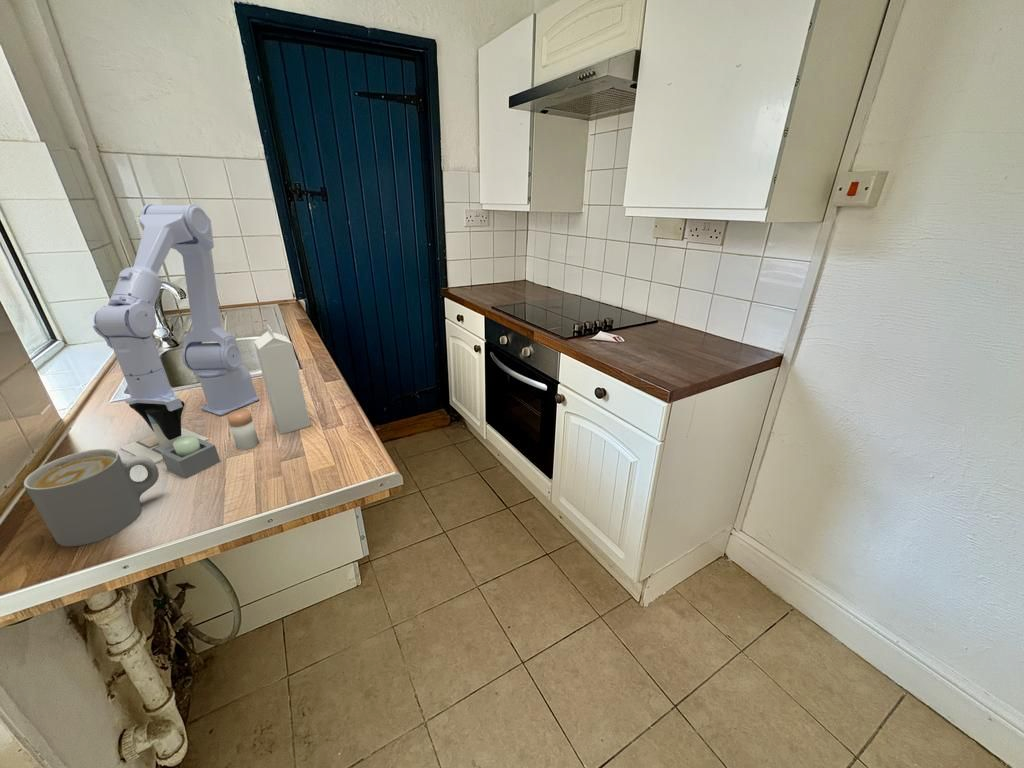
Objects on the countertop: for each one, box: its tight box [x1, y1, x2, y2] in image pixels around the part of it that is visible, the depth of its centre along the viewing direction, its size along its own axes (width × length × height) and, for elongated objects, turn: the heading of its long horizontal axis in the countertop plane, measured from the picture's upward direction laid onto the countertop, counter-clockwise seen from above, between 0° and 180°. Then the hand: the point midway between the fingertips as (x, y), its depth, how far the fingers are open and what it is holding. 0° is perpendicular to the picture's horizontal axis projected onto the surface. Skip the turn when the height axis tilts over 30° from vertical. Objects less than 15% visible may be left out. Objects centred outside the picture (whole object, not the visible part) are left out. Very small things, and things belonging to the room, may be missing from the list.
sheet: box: [120, 426, 209, 465], centre depth 85 cm, size 10×12×1 cm
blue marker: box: [147, 414, 183, 448], centre depth 82 cm, size 4×4×7 cm
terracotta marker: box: [226, 408, 259, 451], centre depth 83 cm, size 4×4×7 cm
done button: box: [173, 435, 201, 458], centre depth 77 cm, size 4×4×4 cm
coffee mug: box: [23, 448, 160, 547], centre depth 64 cm, size 13×10×10 cm
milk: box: [253, 324, 311, 435], centre depth 88 cm, size 6×6×22 cm
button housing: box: [161, 438, 221, 479], centre depth 78 cm, size 6×6×4 cm
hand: (168, 434), depth 83 cm, fingers closed on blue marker, 4 cm apart
